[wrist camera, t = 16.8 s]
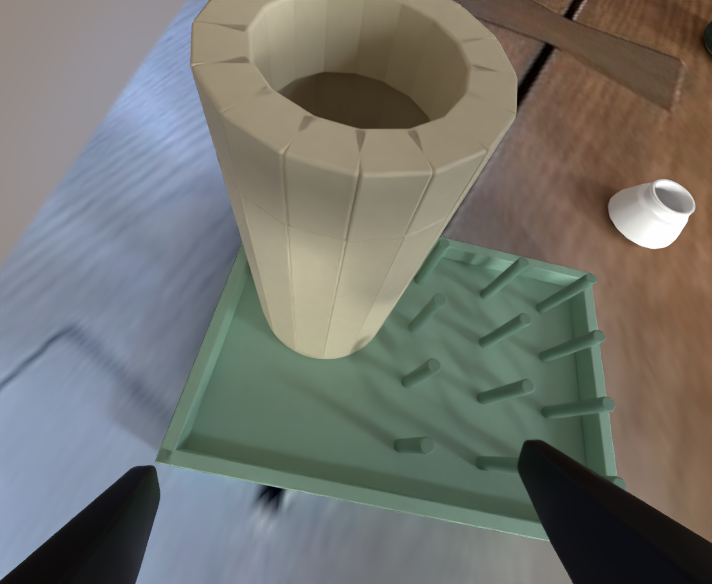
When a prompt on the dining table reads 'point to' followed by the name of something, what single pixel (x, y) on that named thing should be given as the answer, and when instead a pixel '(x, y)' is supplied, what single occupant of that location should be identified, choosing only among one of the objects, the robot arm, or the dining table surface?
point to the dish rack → (409, 393)
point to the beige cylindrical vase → (346, 147)
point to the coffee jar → (708, 37)
